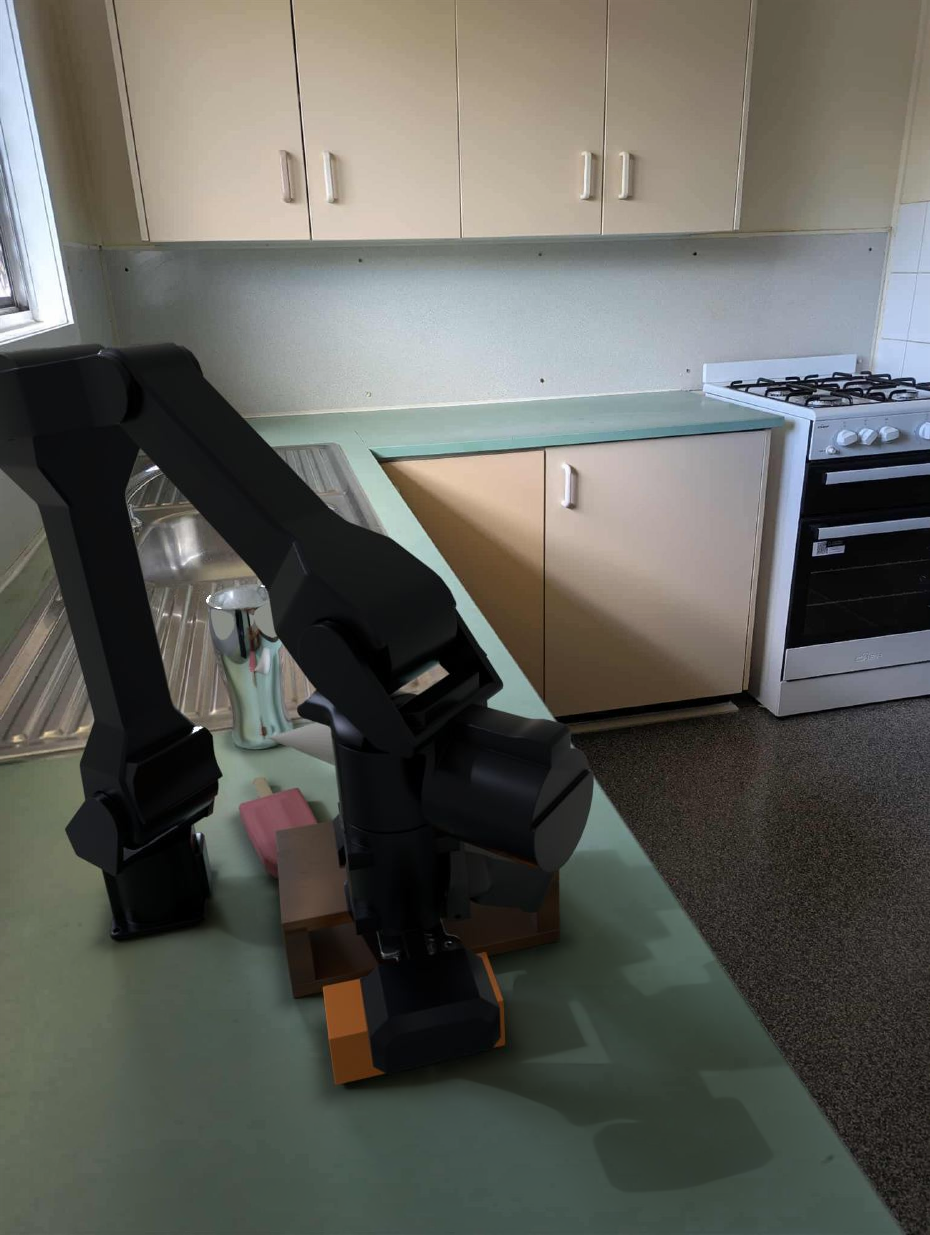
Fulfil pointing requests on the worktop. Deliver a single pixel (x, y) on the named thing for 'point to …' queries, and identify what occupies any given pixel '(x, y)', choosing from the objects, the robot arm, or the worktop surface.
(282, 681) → the beer glass
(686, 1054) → the worktop surface
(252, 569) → the robot arm
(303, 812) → the popsicle
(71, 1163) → the worktop surface
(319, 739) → the ice cream cone
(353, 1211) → the worktop surface
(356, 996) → the orange rectangular block
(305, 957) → the shelf
